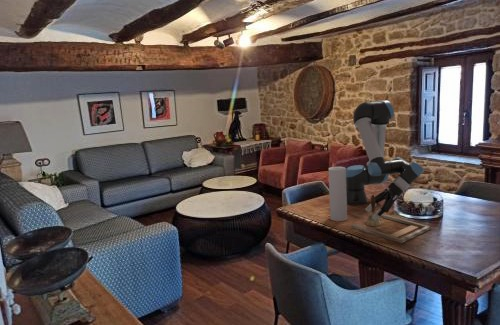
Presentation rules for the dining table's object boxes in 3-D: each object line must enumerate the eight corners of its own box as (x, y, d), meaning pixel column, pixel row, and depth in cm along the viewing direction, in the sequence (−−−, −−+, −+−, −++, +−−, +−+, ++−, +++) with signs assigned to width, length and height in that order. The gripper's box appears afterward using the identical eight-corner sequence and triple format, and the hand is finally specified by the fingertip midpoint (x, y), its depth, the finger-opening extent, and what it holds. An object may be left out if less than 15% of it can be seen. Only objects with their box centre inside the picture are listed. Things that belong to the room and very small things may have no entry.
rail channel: (379, 215, 210) (379, 213, 210) (430, 229, 185) (430, 226, 185) (351, 226, 197) (351, 224, 196) (401, 243, 172) (401, 240, 172)
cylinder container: (347, 220, 206) (346, 169, 200) (330, 221, 208) (328, 169, 202) (346, 215, 215) (345, 165, 209) (330, 215, 217) (328, 166, 211)
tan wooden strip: (411, 225, 192) (411, 224, 192) (419, 227, 188) (419, 226, 188) (387, 236, 180) (387, 236, 180) (394, 239, 177) (394, 238, 177)
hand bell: (362, 222, 202) (361, 194, 199) (374, 219, 204) (374, 192, 201) (372, 227, 194) (372, 198, 191) (385, 224, 197) (384, 195, 194)
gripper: (412, 197, 182) (381, 227, 186) (395, 185, 207) (369, 211, 211) (401, 188, 182) (371, 218, 186) (385, 176, 206) (359, 203, 210)
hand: (370, 215), depth 198 cm, fingers open, 13 cm apart
